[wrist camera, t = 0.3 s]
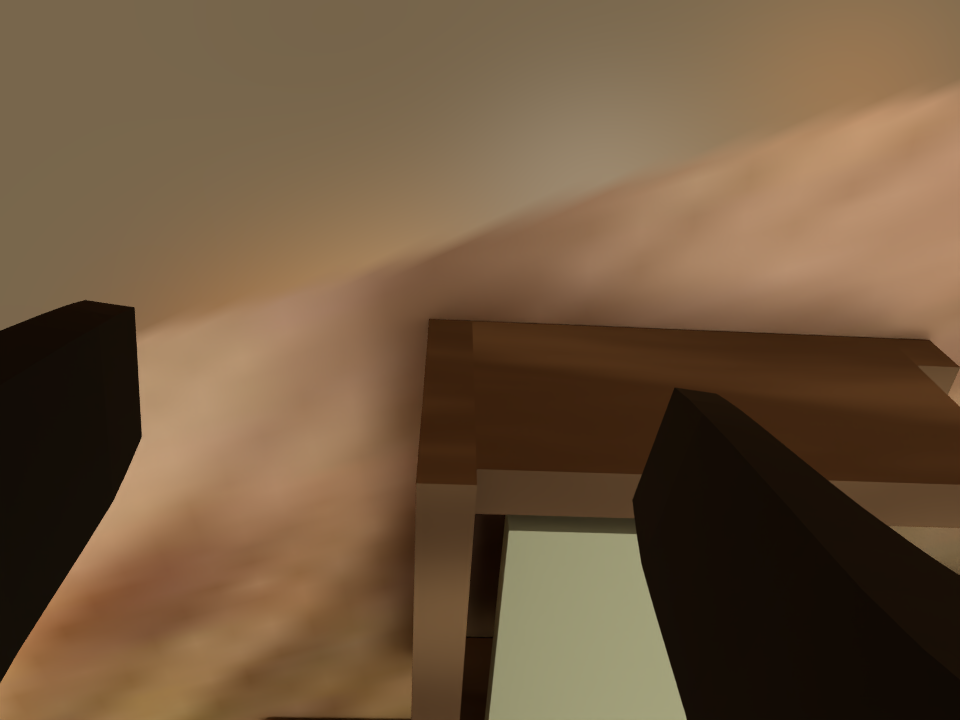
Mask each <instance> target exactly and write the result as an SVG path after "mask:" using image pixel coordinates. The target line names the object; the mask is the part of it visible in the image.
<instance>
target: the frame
mask: <svg viewBox="0 0 960 720" xmlns="http://www.w3.org/2000/svg"><path fill="white" fill-rule="evenodd" d="M959 369H960V367H959V366H958V365H957V364H956V363H955V362H953V361H952V360H951V359H950V358H949V357H948V356H947V355H946V354H944V353H943V352H942V351H941V350H940V349H939V348H938V347H937V346H935V345H934V344H933V343H932V342H931V341H930V340H908V339H884V338H860V337H837V336H813V335H790V334H766V333H742V332H719V331H695V330H672V329H648V328H624V327H601V326H577V325H554V324H530V323H506V322H483V321H459V320H436V319H429V328H428V341H427V353H426V366H425V378H424V391H423V404H422V416H421V429H420V441H419V454H418V466H417V479H416V515H415V565H414V616H413V666H412V716H411V720H485V711H486V701H487V691H488V681H489V672H490V662H491V652H492V642H493V638H466V628H467V614H468V601H469V587H470V574H471V560H472V547H473V533H474V520H475V514H502V515H536V516H570V517H604V518H634V510H633V502H632V499H633V497H634V494H635V491H636V489H637V486H638V483H639V481H640V478H641V475H642V473H643V470H644V467H645V465H646V462H647V459H648V457H649V454H650V451H651V449H652V446H653V443H654V441H655V438H656V435H657V433H658V430H659V427H660V425H661V422H662V419H663V417H664V414H665V411H666V409H667V406H668V403H669V401H670V398H671V395H672V393H673V390H674V387H675V388H682V389H689V390H696V391H702V392H709V393H716V394H718V395H720V396H721V397H723V398H724V399H726V400H727V401H729V402H730V403H732V404H733V405H735V406H736V407H737V408H739V409H740V410H741V411H743V412H744V413H745V414H746V415H748V416H749V417H750V418H752V419H753V420H754V421H755V422H757V423H758V424H759V425H760V426H762V427H763V428H764V429H765V430H767V431H768V432H769V433H770V434H772V435H773V436H774V437H775V438H776V439H778V440H779V441H780V442H781V443H783V444H784V445H785V446H786V447H787V448H789V449H790V450H791V451H792V452H794V453H795V454H796V455H797V456H799V457H800V458H801V459H802V460H803V461H805V462H806V463H807V464H808V465H810V466H811V467H812V468H813V469H815V470H816V471H817V472H818V473H820V474H821V475H822V476H823V477H824V478H826V479H827V480H828V481H830V482H831V483H832V484H833V485H835V486H836V487H837V488H838V489H840V490H841V491H842V492H843V493H845V494H846V495H847V496H849V497H850V498H851V499H853V500H854V501H855V502H856V503H858V504H859V505H860V506H862V507H863V508H864V509H865V510H867V511H868V512H870V513H871V514H872V515H874V516H875V517H876V518H878V519H879V520H880V521H882V522H883V523H885V524H886V525H887V526H910V527H944V528H960V407H959V406H958V405H957V404H956V403H955V402H954V401H953V400H952V399H951V398H950V397H949V396H948V393H949V391H950V388H951V386H952V384H953V382H954V380H955V377H956V375H957V373H958V371H959Z"/></svg>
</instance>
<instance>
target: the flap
mask: <svg viewBox="0 0 960 720" xmlns="http://www.w3.org/2000/svg"><path fill="white" fill-rule="evenodd" d="M485 720H687V719H686V715H685V712H684V708H683V705H682V701H681V698H680V695H679V691H678V688H677V685H676V681H675V678H674V675H673V671H672V668H671V664H670V661H669V658H668V654H667V651H666V648H665V644H664V641H663V638H662V634H661V631H660V628H659V624H658V621H657V618H656V614H655V611H654V607H653V604H652V600H651V597H650V593H649V590H648V586H647V583H646V579H645V576H644V572H643V568H642V565H641V559H640V553H639V546H638V540H637V534H636V526H635V518H604V517H570V516H536V515H505V525H504V534H503V544H502V554H501V564H500V574H499V583H498V593H497V603H496V613H495V623H494V632H493V642H492V652H491V662H490V672H489V681H488V691H487V701H486V711H485Z"/></svg>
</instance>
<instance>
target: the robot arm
mask: <svg viewBox="0 0 960 720" xmlns="http://www.w3.org/2000/svg"><path fill="white" fill-rule="evenodd" d="M141 437H142V432H141V414H140V397H139V379H138V361H137V344H136V326H135V309H134V307H127V306H120V305H114V304H108V303H101V302H94V301H87V300H84V301H80V302H77V303H73V304H70V305H66V306H63V307H61V308H58V309H55V310H53V311H49V312H47V313H44V314H41V315H39V316H36V317H34V318H31V319H29V320H26V321H24V322H21V323H19V324H16V325H14V326H11V327H9V328H6V329H4V330H1V331H0V682H1V681H2V679H3V677H4V676H5V674H6V672H7V670H8V669H9V667H10V665H11V663H12V662H13V660H14V658H15V656H16V655H17V653H18V651H19V650H20V648H21V647H22V645H23V643H24V642H25V640H26V639H27V637H28V635H29V634H30V632H31V631H32V629H33V628H34V626H35V624H36V623H37V621H38V620H39V618H40V617H41V615H42V613H43V612H44V610H45V609H46V607H47V606H48V604H49V602H50V601H51V599H52V598H53V596H54V595H55V593H56V591H57V590H58V588H59V587H60V585H61V584H62V582H63V580H64V579H65V577H66V576H67V574H68V573H69V571H70V570H71V568H72V566H73V565H74V563H75V562H76V560H77V559H78V557H79V555H80V554H81V552H82V551H83V549H84V547H85V546H86V544H87V543H88V541H89V539H90V538H91V536H92V535H93V533H94V531H95V530H96V528H97V527H98V525H99V523H100V522H101V520H102V519H103V517H104V515H105V514H106V512H107V510H108V509H109V507H110V505H111V504H112V502H113V500H114V498H115V496H116V494H117V492H118V490H119V487H120V485H121V483H122V481H123V479H124V477H125V475H126V472H127V470H128V468H129V465H130V463H131V461H132V458H133V456H134V454H135V451H136V449H137V447H138V444H139V442H140V440H141ZM632 502H633V510H634V518H635V526H636V534H637V540H638V546H639V553H640V559H641V565H642V568H643V572H644V576H645V579H646V583H647V586H648V590H649V593H650V597H651V600H652V604H653V607H654V611H655V614H656V618H657V621H658V624H659V628H660V631H661V634H662V638H663V641H664V644H665V648H666V651H667V654H668V658H669V661H670V664H671V668H672V671H673V675H674V678H675V681H676V685H677V688H678V691H679V695H680V698H681V701H682V705H683V708H684V712H685V715H686V719H687V720H960V575H958V574H957V573H955V572H954V571H952V570H950V569H949V568H947V567H946V566H944V565H943V564H941V563H940V562H938V561H937V560H935V559H934V558H932V557H931V556H929V555H928V554H926V553H925V552H923V551H922V550H921V549H919V548H918V547H916V546H915V545H913V544H912V543H911V542H909V541H908V540H906V539H905V538H904V537H902V536H901V535H900V534H898V533H897V532H895V531H894V530H893V529H891V528H890V527H889V526H887V525H886V524H885V523H883V522H882V521H880V520H879V519H878V518H876V517H875V516H874V515H872V514H871V513H870V512H868V511H867V510H865V509H864V508H863V507H862V506H860V505H859V504H858V503H856V502H855V501H854V500H853V499H851V498H850V497H849V496H847V495H846V494H845V493H843V492H842V491H841V490H840V489H838V488H837V487H836V486H835V485H833V484H832V483H831V482H830V481H828V480H827V479H826V478H824V477H823V476H822V475H821V474H820V473H818V472H817V471H816V470H815V469H813V468H812V467H811V466H810V465H808V464H807V463H806V462H805V461H803V460H802V459H801V458H800V457H799V456H797V455H796V454H795V453H794V452H792V451H791V450H790V449H789V448H787V447H786V446H785V445H784V444H783V443H781V442H780V441H779V440H778V439H776V438H775V437H774V436H773V435H772V434H770V433H769V432H768V431H767V430H765V429H764V428H763V427H762V426H760V425H759V424H758V423H757V422H755V421H754V420H753V419H752V418H750V417H749V416H748V415H746V414H745V413H744V412H743V411H741V410H740V409H739V408H737V407H736V406H735V405H733V404H732V403H730V402H729V401H727V400H726V399H724V398H723V397H721V396H720V395H718V394H716V393H709V392H702V391H696V390H689V389H682V388H675V387H674V390H673V393H672V395H671V398H670V401H669V403H668V406H667V409H666V411H665V414H664V417H663V419H662V422H661V425H660V427H659V430H658V433H657V435H656V438H655V441H654V443H653V446H652V449H651V451H650V454H649V457H648V459H647V462H646V465H645V467H644V470H643V473H642V475H641V478H640V481H639V483H638V486H637V489H636V491H635V494H634V497H633V499H632Z"/></svg>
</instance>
